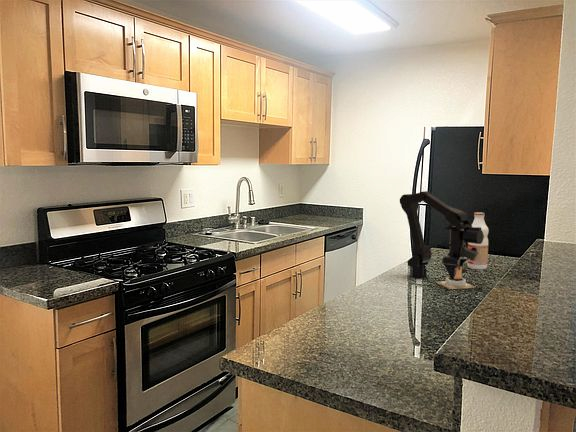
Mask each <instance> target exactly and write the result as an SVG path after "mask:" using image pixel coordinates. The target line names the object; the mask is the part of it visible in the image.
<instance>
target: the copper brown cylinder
mask: <svg viewBox="0 0 576 432" xmlns="http://www.w3.org/2000/svg"><path fill="white" fill-rule="evenodd" d="M462 273H463V268H462V266H457V267H456V271H455V276H454V279H451V278H450V280H454V281H461V278H463V276H462Z"/></svg>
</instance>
